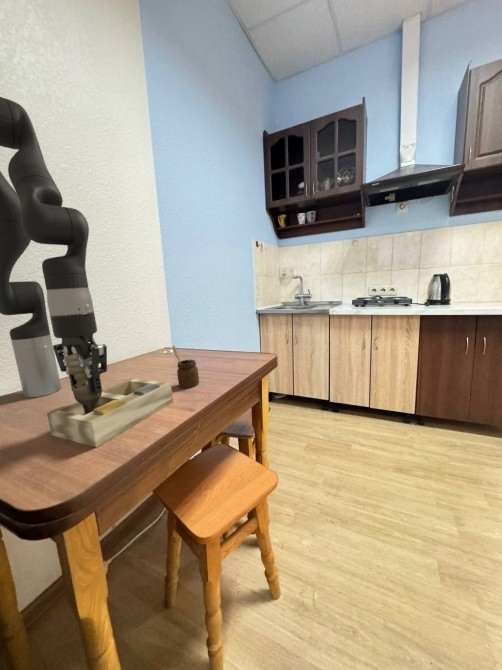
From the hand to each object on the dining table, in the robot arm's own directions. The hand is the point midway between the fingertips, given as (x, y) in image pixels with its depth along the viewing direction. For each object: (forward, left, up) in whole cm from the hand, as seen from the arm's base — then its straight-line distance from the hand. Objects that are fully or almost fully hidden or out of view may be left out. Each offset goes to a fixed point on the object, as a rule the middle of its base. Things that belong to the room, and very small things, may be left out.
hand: (87, 391), depth 58 cm
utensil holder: (+5, +27, -8) cm, 29 cm away
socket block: (+2, +5, -8) cm, 9 cm away
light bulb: (0, 0, -6) cm, 6 cm away
